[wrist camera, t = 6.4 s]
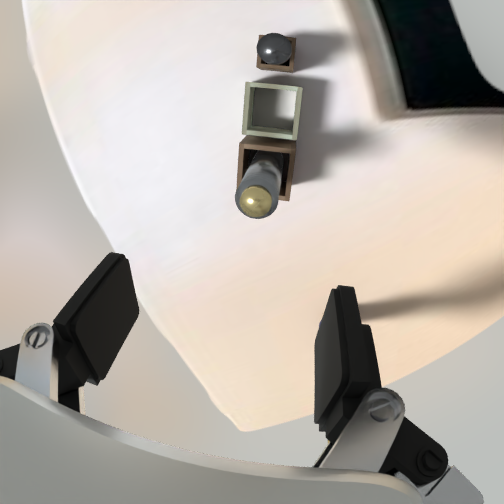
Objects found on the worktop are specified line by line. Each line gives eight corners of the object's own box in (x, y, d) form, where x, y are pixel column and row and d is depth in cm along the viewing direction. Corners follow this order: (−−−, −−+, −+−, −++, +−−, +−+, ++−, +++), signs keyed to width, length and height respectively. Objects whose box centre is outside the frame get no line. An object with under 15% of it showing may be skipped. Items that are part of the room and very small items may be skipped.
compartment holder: (305, 46, 21) (307, 39, 17) (290, 185, 28) (289, 201, 25) (254, 41, 21) (247, 34, 18) (243, 180, 29) (236, 194, 25)
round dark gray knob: (293, 46, 21) (293, 34, 16) (291, 70, 22) (290, 65, 17) (265, 43, 21) (258, 32, 16) (263, 67, 22) (255, 62, 17)
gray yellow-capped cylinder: (284, 148, 26) (280, 184, 18) (281, 176, 28) (275, 225, 19) (255, 145, 27) (234, 179, 18) (253, 172, 28) (232, 219, 19)
